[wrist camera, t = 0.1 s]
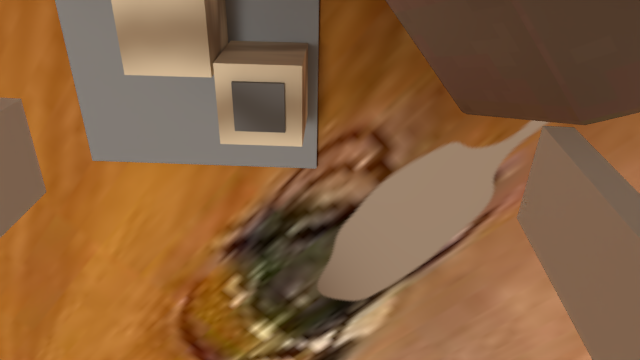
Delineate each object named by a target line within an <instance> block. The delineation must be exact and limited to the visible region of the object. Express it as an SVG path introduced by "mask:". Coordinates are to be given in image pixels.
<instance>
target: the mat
mask: <svg viewBox="0 0 640 360" xmlns="http://www.w3.org/2000/svg"><path fill="white" fill-rule="evenodd" d="M55 2H56V6H57V11H58V15H59V19H60V23H61V28H62V32H63V36H64V40H65V45H66V49H67V53H68V57H69V62H70V66H71V70H72V75H73V79H74V83H75V87H76V92H77V96H78V100H79V104H80V109H81V113H82V117H83V121H84V126H85V130H86V134H87V138H88V143H89V147H90V151H91V155H92V160H93V161H119V162H148V163H176V164H204V165H233V166H261V167H290V168H316V167H317V113H318V47H319V0H225V4H226V18H227V31H228V44H229V42H230V41H260V42H296V43H308V116H307V121H306V127H305V133H304V139H303V145H302V147H296V146H267V145H238V144H220V134H219V123H218V112H217V101H216V90H215V79H214V75H213V76H212V77H211V78H210V77H177V76H144V75H125V74H124V69H123V63H122V58H121V52H120V47H119V41H118V36H117V30H116V25H115V19H114V14H113V8H112V3H111V0H55Z"/></svg>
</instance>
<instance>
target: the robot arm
mask: <svg viewBox="0 0 640 360" xmlns="http://www.w3.org/2000/svg"><path fill="white" fill-rule="evenodd" d="M45 193H46V189H45V185H44V182H43V178H42V174H41V171H40V167H39V163H38V160H37V156H36V152H35V149H34V145H33V141H32V138H31V134H30V130H29V127H28V123H27V119H26V116H25V112H24V108H23V105H22V101H21V99H15V98H0V237H1V236H2V235H3V234H4V233H6V232H7V231H8V230H9V229H10V228H11V227H12V226H13V225H14V224H15V223H16V222H17V221H18V220H19V219H20V218H21V217H22V216H23V215H24V214H25V213H26V212H27V211H28V210H29V209H30V208H31V207H32V206H33V205H34V204H35V203H36V202H37V201H38V200H39V199H40V198H41V197H42V196H43V195H44V194H45ZM517 219H518V221H519V223H520V225H521V227H522V228H523V230H524V232H525V234H526V236H527V238H528V240H529V242H530V243H531V245H532V247H533V249H534V251H535V253H536V255H537V257H538V258H539V260H540V262H541V264H542V266H543V268H544V270H545V272H546V273H547V275H548V277H549V279H550V281H551V283H552V285H553V287H554V288H555V290H556V292H557V294H558V296H559V298H560V300H561V302H562V304H563V305H564V307H565V309H566V311H567V313H568V315H569V317H570V319H571V320H572V322H573V324H574V326H575V328H576V330H577V332H578V334H579V335H580V337H581V339H582V341H583V343H584V345H585V347H586V349H587V350H588V352H589V354H590V356H591V358H592V360H640V194H639V193H638V192H637V191H636V190H635V189H634V188H633V187H632V186H631V185H630V184H629V183H628V182H627V181H626V180H625V179H624V178H623V177H622V176H621V175H620V174H619V173H618V172H617V171H616V170H615V169H614V168H613V167H612V166H611V165H610V164H609V163H608V161H607V160H606V159H605V158H604V157H603V156H602V155H601V154H600V153H599V152H598V151H597V150H596V149H595V148H594V147H593V146H592V145H591V144H590V143H589V142H588V141H587V140H586V139H585V138H584V137H583V136H582V135H581V134H580V133H579V132H578V131H577V130H576V129H575V128H573V127H554V126H543V127H542V131H541V135H540V138H539V142H538V145H537V149H536V152H535V156H534V159H533V163H532V167H531V170H530V174H529V177H528V181H527V184H526V188H525V191H524V195H523V199H522V202H521V206H520V209H519V213H518V216H517Z"/></svg>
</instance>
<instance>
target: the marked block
mask: <svg viewBox="0 0 640 360" xmlns="http://www.w3.org/2000/svg"><path fill="white" fill-rule="evenodd" d="M213 68H214V79H215V90H216V101H217V112H218V123H219V134H220V144H238V145H267V146H296V147H302V145H303V139H304V133H305V127H306V121H307V116H308V43H296V42H260V41H230V42H229V44H228V45H227V46H226V47H225V49H224V50H223V51H222V52H221V54H220V55H219V56H218V58H217V59H216V60H215V61H214V63H213Z"/></svg>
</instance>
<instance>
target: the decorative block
mask: <svg viewBox="0 0 640 360" xmlns="http://www.w3.org/2000/svg"><path fill="white" fill-rule="evenodd" d="M386 2H387V3H388V5H389V6H390V7H391V9H392V10H393V12H394V13H395V15H396V16H397V18H398V19H399V21H400V22H401V24H402V25H403V26H404V28H405V29H406V31H407V32H408V34H409V35H410V37H411V38H412V40H413V41H414V42H415V44H416V45H417V47H418V48H419V50H420V51H421V53H422V54H423V56H424V57H425V58H426V60H427V61H428V63H429V64H430V66H431V67H432V69H433V70H434V72H435V73H436V75H437V76H438V77H439V79H440V80H441V82H442V83H443V85H444V86H445V88H446V89H447V91H448V92H449V93H450V95H451V96H452V98H453V99H454V101H455V102H456V104H457V105H458V107H459V108H460V110H461V111H462V112H464V113H466V114H472V115H482V116H493V117H504V118H514V119H525V120H536V121H546V122H557V123H567V124H578V125H588V124H592V123H596V122H600V121H605V120H609V119H613V118H617V117H622V116H626V115H630V114H634V113H639V112H640V0H386Z"/></svg>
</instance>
